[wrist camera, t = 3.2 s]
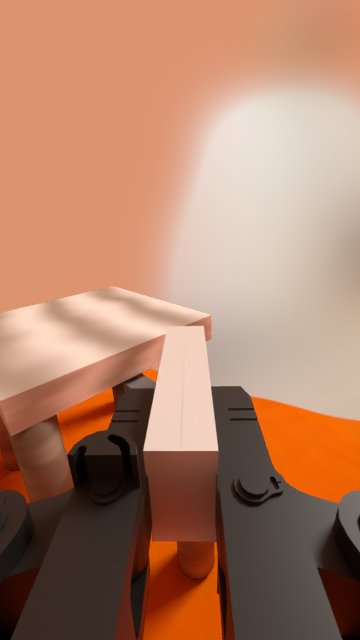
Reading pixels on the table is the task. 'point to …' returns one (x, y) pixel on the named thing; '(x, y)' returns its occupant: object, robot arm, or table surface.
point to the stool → (72, 369)
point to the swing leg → (191, 555)
